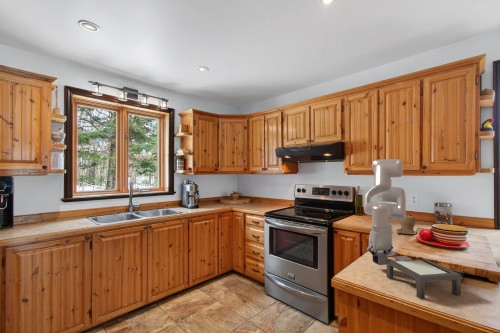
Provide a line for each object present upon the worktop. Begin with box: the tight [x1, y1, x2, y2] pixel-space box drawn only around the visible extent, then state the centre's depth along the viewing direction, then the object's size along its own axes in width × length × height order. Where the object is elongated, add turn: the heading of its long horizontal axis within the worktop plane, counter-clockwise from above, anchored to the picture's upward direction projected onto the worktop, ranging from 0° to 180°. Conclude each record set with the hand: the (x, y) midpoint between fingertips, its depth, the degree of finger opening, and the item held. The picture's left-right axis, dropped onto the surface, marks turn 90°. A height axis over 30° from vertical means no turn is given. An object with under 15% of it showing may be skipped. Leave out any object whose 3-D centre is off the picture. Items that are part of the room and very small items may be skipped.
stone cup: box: [396, 215, 416, 235], centre depth 194 cm, size 15×12×15 cm
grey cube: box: [374, 251, 389, 266], centre depth 126 cm, size 5×5×5 cm
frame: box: [386, 256, 462, 300], centre depth 109 cm, size 20×20×9 cm
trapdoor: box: [394, 255, 447, 275], centre depth 111 cm, size 19×14×2 cm
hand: (380, 261), depth 126 cm, fingers closed on grey cube, 5 cm apart
